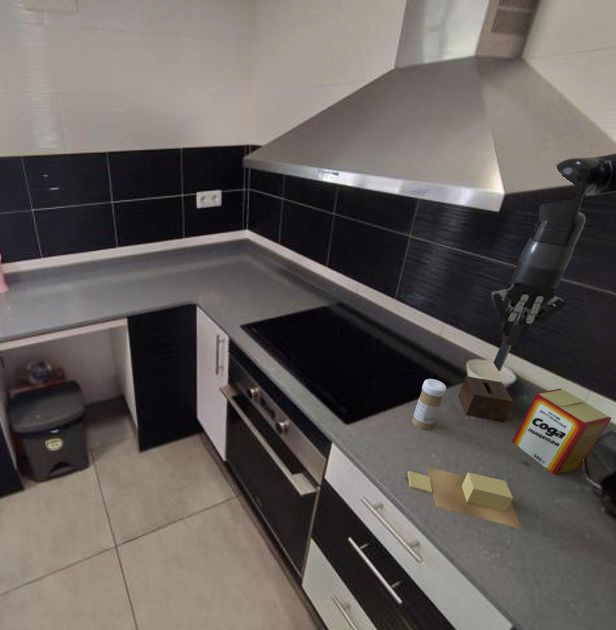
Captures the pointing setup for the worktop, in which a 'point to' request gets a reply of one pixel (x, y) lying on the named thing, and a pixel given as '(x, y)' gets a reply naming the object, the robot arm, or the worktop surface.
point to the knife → (507, 344)
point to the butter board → (453, 499)
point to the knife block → (485, 399)
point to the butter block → (487, 492)
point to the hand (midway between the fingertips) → (511, 334)
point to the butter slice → (419, 482)
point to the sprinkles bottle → (428, 403)
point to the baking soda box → (560, 430)
